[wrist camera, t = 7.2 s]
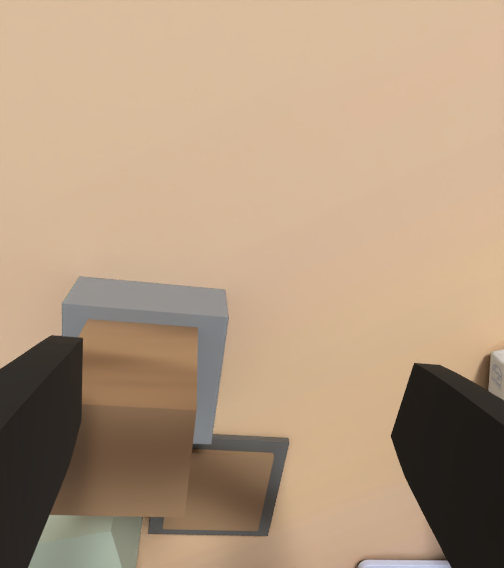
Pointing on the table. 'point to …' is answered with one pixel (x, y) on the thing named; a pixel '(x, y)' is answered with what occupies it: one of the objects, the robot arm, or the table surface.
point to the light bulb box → (497, 373)
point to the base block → (166, 311)
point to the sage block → (88, 542)
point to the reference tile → (230, 487)
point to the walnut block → (133, 421)
